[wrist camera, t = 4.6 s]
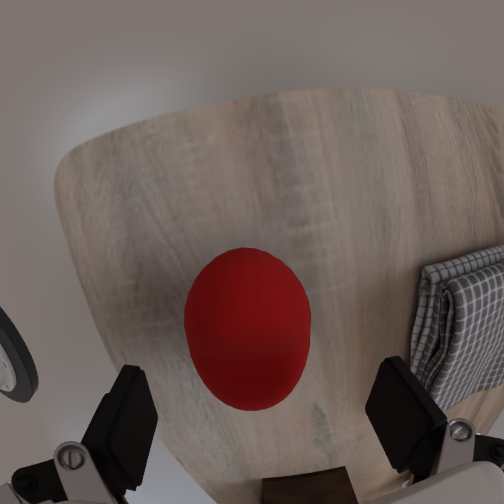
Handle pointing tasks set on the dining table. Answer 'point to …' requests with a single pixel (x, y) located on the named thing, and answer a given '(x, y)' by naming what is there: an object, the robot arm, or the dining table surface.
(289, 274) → the red rounded oval block
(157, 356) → the dining table surface
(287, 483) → the dark brown ridged block
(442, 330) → the towel
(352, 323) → the dining table surface
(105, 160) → the dining table surface
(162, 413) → the dining table surface
